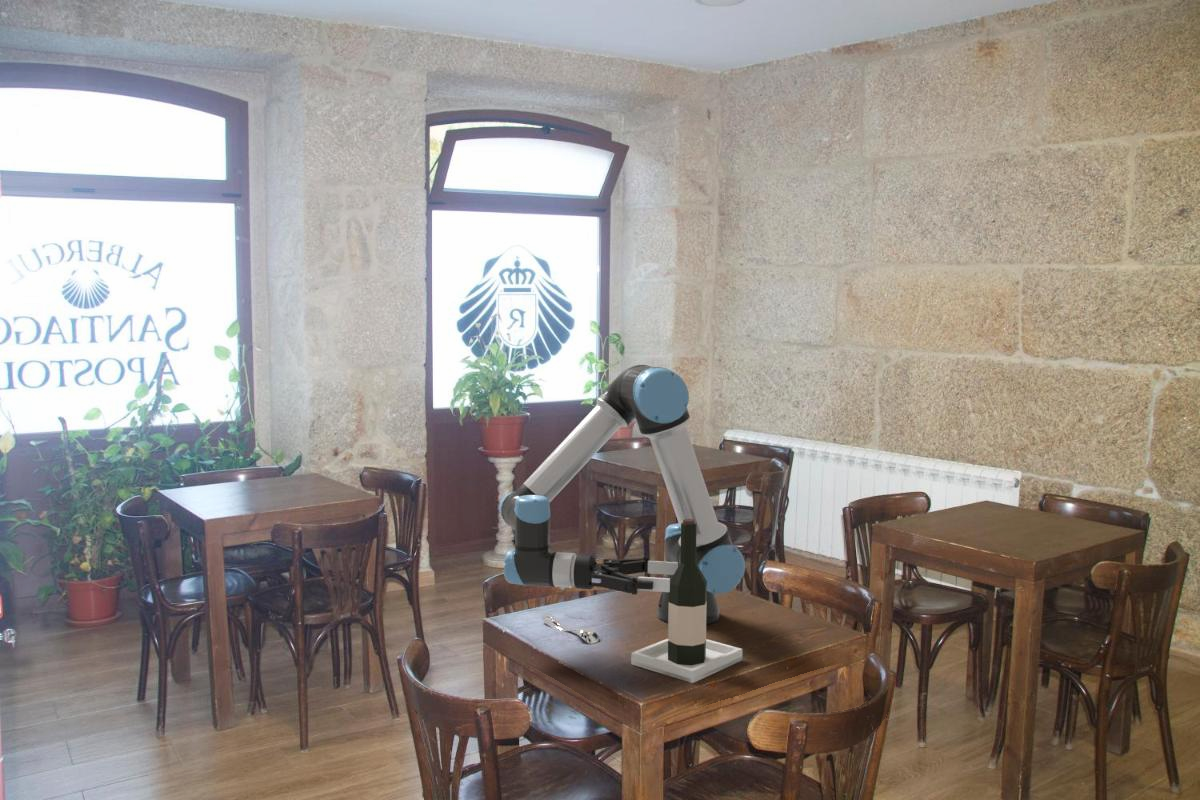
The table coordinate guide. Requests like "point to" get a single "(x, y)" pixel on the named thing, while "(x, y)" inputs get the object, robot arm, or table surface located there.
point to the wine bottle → (687, 604)
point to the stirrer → (584, 633)
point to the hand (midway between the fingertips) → (673, 576)
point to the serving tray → (658, 662)
